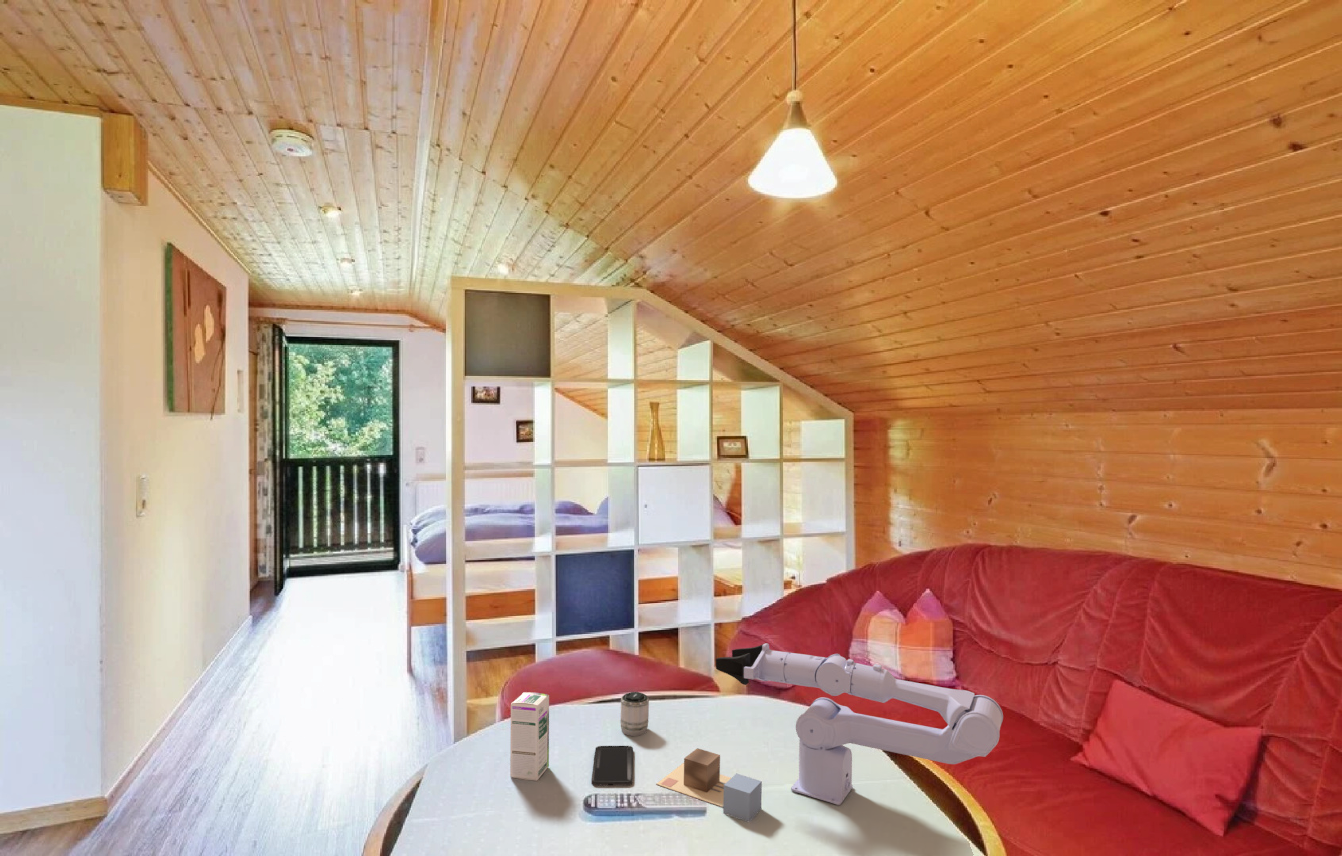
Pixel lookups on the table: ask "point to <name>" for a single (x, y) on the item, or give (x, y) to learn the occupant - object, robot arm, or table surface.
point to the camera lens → (634, 713)
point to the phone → (613, 766)
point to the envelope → (677, 784)
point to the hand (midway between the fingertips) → (724, 659)
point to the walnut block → (701, 770)
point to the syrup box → (529, 736)
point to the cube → (742, 797)
